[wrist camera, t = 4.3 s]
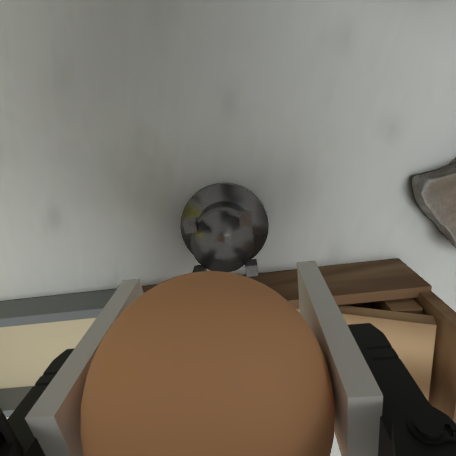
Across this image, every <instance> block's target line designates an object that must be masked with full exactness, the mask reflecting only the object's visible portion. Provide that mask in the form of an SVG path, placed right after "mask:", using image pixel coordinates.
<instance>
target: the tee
mask: <svg viewBox="0 0 456 456" xmlns="http://www.w3.org/2000/svg"><path fill="white" fill-rule="evenodd" d="M181 233H182V237H183V240H184V242H185V244H186V246H187V248H188V249H189V250H190V252H191V253H192V254H193V255H194V257H195V258H196V260H197V261H198V262H199V263H200V264H201V265H197V266H194V269H193V273H195V272H201V271H207V269H209V270H211V271H221V272H232V271H235V270H237V269H239V268H241V267H242V266H244V265H245V268H246V276H247V277H252V276H258V268H257V261H256V259H252V258H253V257H255V256H256V255H257V254H258V253H259V251H260V250H261V249H262V247H263V245H264V243H265V241H266V238H267V235H268V218H267V215H266V212H265V209H264V207H263V205H262V203H261V202H260V200H259V199H258V198H257V197H256V196H255V195H254V194H253V193H252V192H251V191H249V190H248V189H246V188H244V187H242V186H239V185H236V184H231V183H217V184H213V185H210V186H207V187H205V188H203V189H201V190H200V191H198V192H197V193H196V194H195V195H193V197H192V198H191V199H190V200H189V202H188V203H187V205H186V206H185V209H184V211H183V214H182V217H181ZM206 268H207V269H206Z"/></svg>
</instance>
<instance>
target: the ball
mask: <svg viewBox="0 0 456 456" xmlns="http://www.w3.org/2000/svg"><path fill="white" fill-rule="evenodd" d="M334 424H335V403H334V393H333V384H332V379H331V376H330V372H329V368H328V365H327V361H326V358H325V355H324V353H323V351H322V349H321V346H320V344H319V342H318V340H317V338H316V336H315V334H314V332H313V331H312V330H311V328H310V327H309V325H308V324H307V322H306V321H305V319H304V318H303V317H302V315H301V314H300V313H299V312H298V311H297V310H296V309H295V308H294V307H293V306H292V305H291V304H290V303H289V302H288V301H287V300H286V299H285V298H284V297H282V296H281V295H280V294H279V293H277V292H276V291H274V290H273V289H271V288H270V287H268V286H266V285H264V284H262V283H260V282H258V281H256V280H254V279H251V278H249V277H246V276H242V275H239V274H235V273H229V272H221V271H201V272H195V273H189V274H184V275H181V276H178V277H174V278H171V279H169V280H167V281H164V282H162V283H160V284H158V285H157V286H155V287H153V288H152V289H150V290H148V291H147V292H145V293H143V294H142V295H141V296H140V297H138V298H137V299H136V300H135V301H133V302H132V303H131V304H130V305H129V306H128V307H127V308H126V309H125V310H124V311H123V312H122V313H121V314H120V315H119V317H118V318H117V319H116V320H115V321H114V323H113V324H112V325H111V327H110V328H109V330H108V331H107V333H106V334H105V336H104V337H103V339H102V341H101V343H100V345H99V347H98V349H97V351H96V353H95V355H94V357H93V360H92V362H91V365H90V368H89V371H88V374H87V377H86V381H85V386H84V390H83V396H82V402H81V425H80V436H81V442H82V449H83V456H330V453H331V448H332V443H333V438H334Z"/></svg>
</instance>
